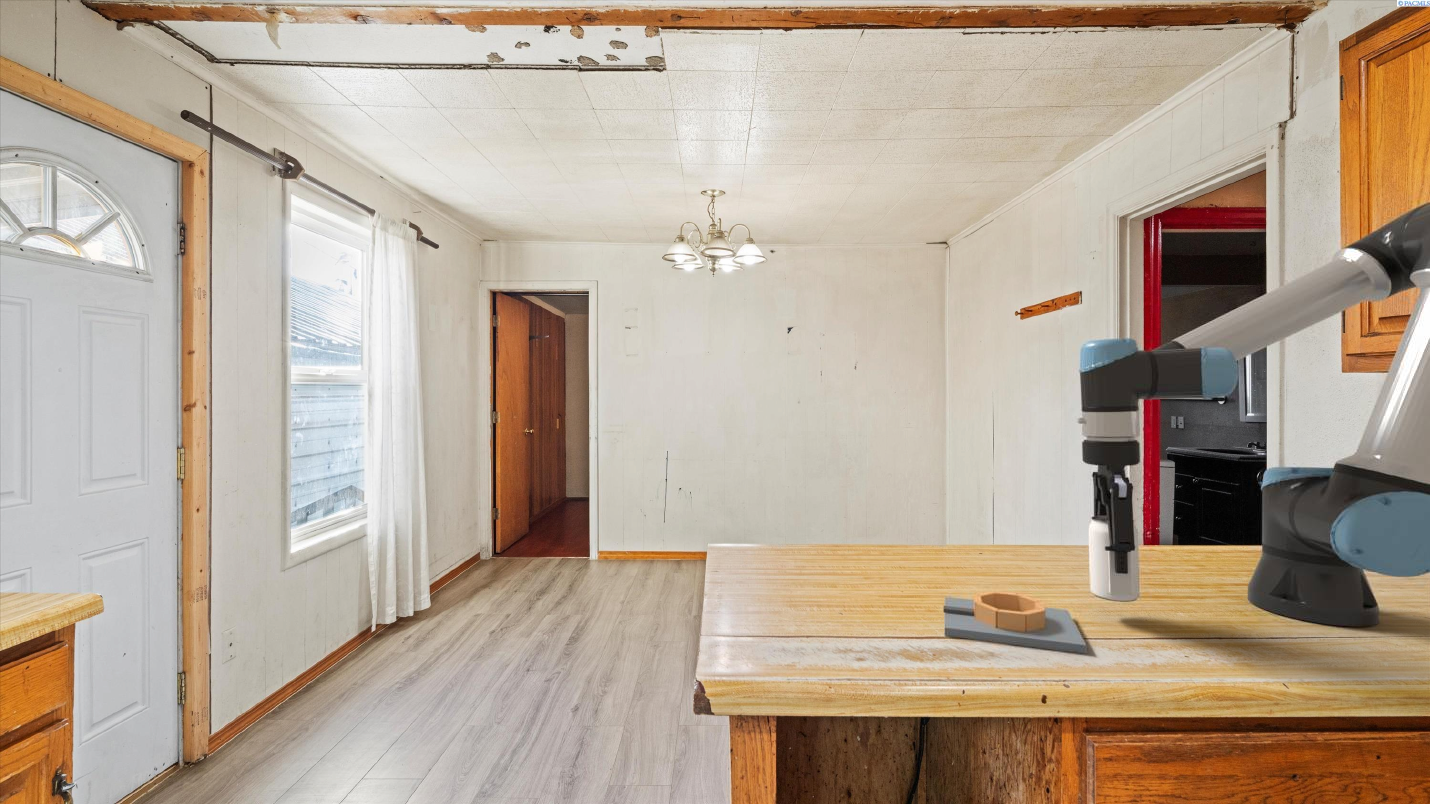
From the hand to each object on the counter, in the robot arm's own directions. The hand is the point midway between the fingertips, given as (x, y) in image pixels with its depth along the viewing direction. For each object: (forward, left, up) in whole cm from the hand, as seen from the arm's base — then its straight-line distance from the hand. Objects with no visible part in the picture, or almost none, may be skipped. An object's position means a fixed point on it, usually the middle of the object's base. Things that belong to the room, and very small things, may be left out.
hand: (1114, 585), depth 95 cm
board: (+16, +9, -5) cm, 19 cm away
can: (0, 0, -2) cm, 2 cm away
